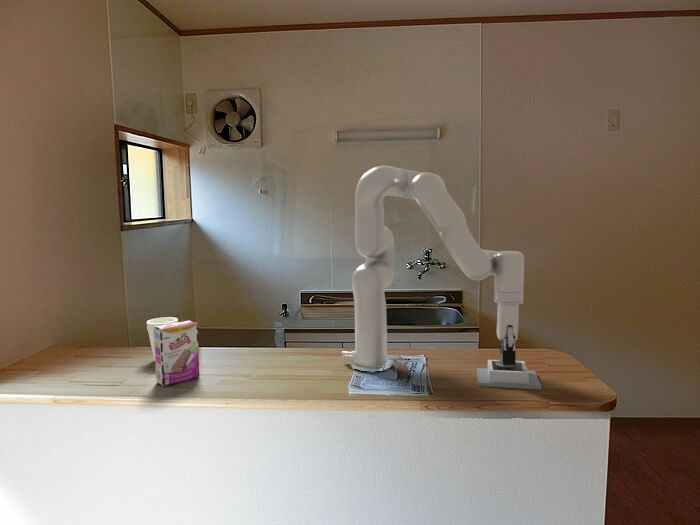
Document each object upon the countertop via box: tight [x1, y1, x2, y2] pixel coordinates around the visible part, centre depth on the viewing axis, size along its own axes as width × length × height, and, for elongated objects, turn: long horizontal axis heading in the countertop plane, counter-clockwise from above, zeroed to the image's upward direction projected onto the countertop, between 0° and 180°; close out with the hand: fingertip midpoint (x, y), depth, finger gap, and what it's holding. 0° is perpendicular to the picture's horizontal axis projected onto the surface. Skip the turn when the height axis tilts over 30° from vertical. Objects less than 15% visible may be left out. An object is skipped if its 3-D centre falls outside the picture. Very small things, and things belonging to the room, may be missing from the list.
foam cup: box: [146, 316, 179, 361], centre depth 165 cm, size 10×9×13 cm
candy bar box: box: [154, 320, 200, 388], centre depth 145 cm, size 11×5×16 cm, turn 134°
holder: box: [476, 359, 542, 390], centre depth 141 cm, size 16×12×4 cm
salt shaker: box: [496, 337, 518, 371], centre depth 140 cm, size 6×6×12 cm
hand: (507, 359), depth 140 cm, fingers open, 8 cm apart
